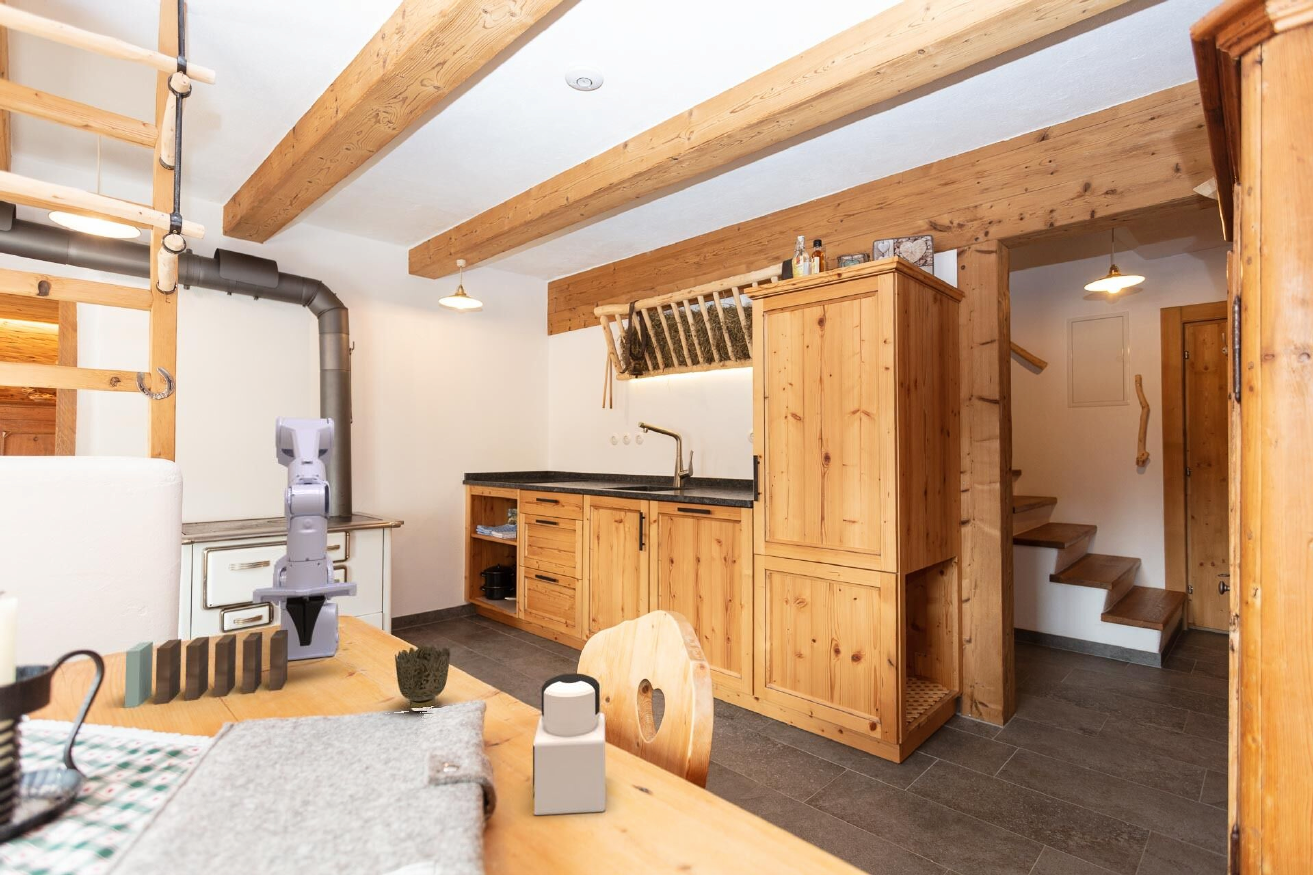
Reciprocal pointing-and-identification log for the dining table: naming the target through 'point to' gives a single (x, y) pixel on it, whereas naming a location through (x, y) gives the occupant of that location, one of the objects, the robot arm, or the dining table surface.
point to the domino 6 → (278, 659)
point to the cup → (422, 674)
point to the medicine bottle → (569, 748)
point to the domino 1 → (138, 674)
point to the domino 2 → (168, 671)
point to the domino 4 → (225, 665)
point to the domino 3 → (196, 668)
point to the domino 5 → (252, 663)
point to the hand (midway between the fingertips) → (305, 644)
